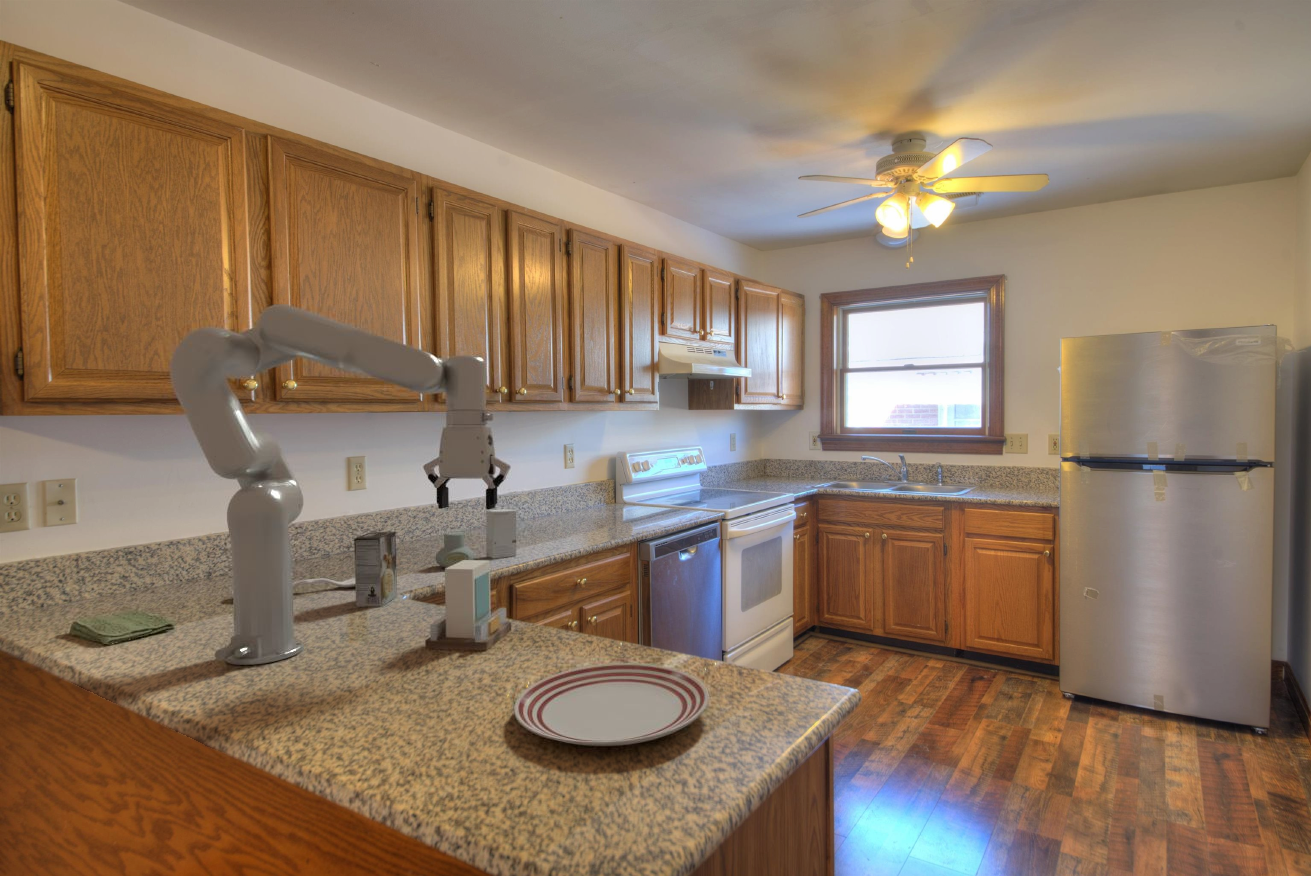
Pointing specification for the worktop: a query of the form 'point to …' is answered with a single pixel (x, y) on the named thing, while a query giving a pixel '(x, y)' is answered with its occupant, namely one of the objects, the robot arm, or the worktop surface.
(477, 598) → the carton
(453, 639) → the napkin stand
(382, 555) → the coffee box
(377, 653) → the worktop surface
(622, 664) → the dinner plate
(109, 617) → the washcloth
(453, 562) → the air freshener
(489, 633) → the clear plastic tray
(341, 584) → the spoon
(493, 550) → the skincare box
